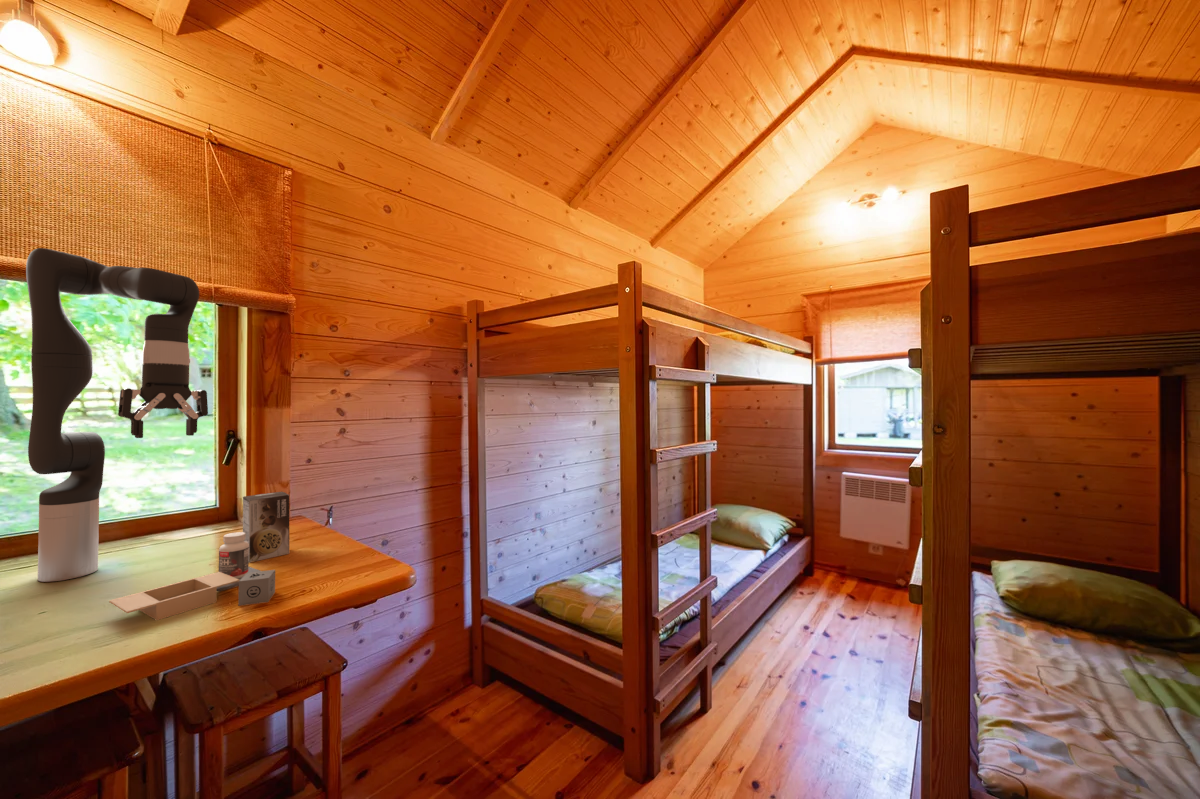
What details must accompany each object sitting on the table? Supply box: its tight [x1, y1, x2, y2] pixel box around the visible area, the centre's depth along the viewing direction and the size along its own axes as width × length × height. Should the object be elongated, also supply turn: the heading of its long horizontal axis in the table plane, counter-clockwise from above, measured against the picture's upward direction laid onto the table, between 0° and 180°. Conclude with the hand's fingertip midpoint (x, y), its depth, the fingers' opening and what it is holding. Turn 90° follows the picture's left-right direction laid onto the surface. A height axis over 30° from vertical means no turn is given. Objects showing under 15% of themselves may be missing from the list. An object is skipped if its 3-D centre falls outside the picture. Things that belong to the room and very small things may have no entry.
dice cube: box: [237, 569, 276, 607], centre depth 95 cm, size 5×5×5 cm
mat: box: [217, 565, 261, 593], centre depth 105 cm, size 10×10×1 cm
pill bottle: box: [218, 531, 250, 579], centre depth 105 cm, size 5×5×10 cm
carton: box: [108, 571, 240, 621], centre depth 92 cm, size 9×17×3 cm, turn 151°
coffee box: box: [242, 491, 291, 563], centre depth 122 cm, size 9×6×16 cm
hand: (165, 436), depth 101 cm, fingers open, 8 cm apart
